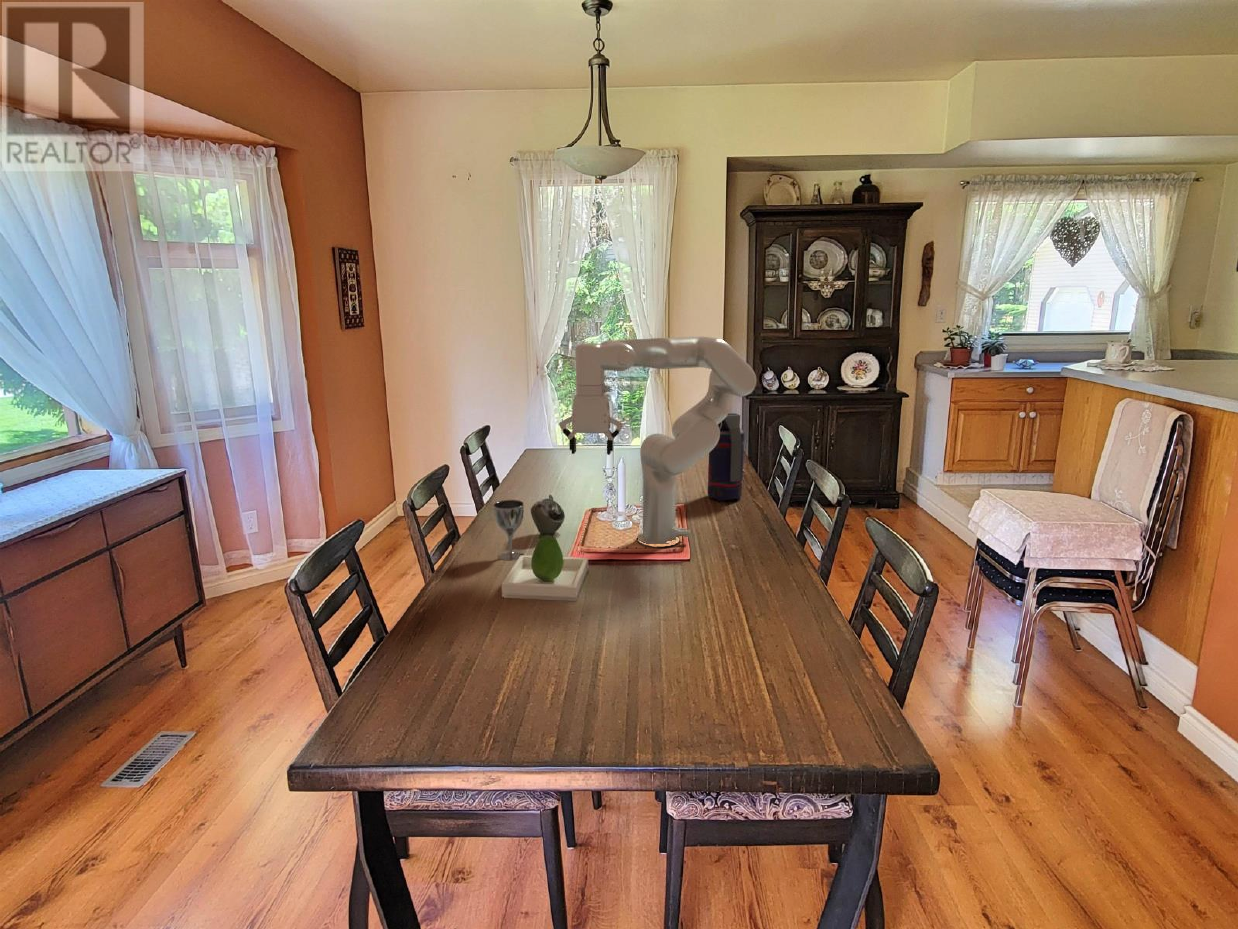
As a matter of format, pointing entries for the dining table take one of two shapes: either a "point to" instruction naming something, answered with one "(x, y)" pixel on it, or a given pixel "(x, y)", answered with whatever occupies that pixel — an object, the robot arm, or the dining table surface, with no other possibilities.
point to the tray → (531, 587)
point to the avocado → (547, 559)
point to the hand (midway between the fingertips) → (591, 453)
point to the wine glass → (509, 523)
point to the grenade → (727, 461)
